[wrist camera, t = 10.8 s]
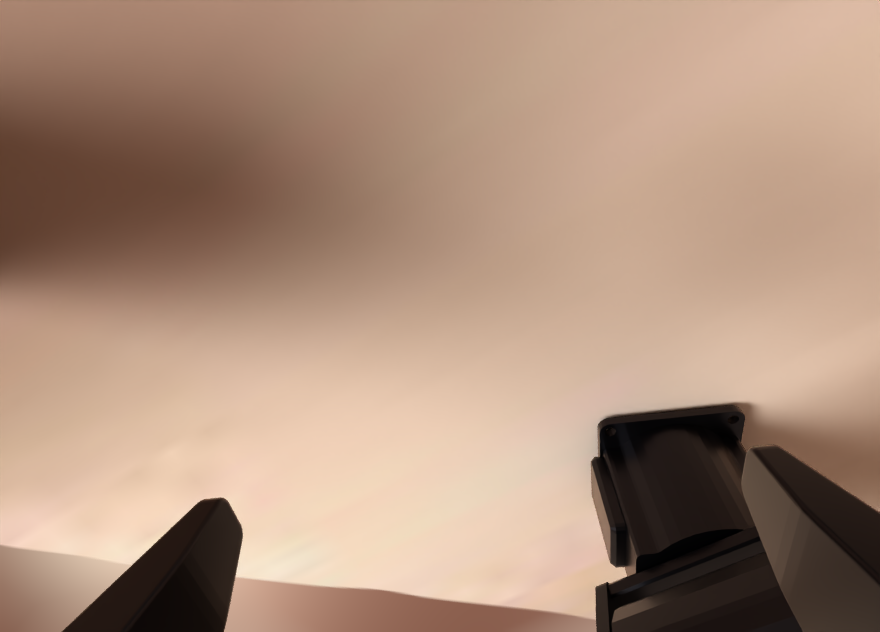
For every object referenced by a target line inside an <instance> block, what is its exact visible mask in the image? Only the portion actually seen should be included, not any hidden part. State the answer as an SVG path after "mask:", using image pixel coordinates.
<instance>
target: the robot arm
mask: <svg viewBox="0 0 880 632" xmlns="http://www.w3.org/2000/svg"><path fill="white" fill-rule="evenodd" d="M731 416H733V417H731ZM729 417H731V418H729ZM744 421H745V415H744V414H743V412H742V411H741V409H740V408H739V407H737V406H722V407H712V408H702V409H693V410H683V411H673V412H664V413H654V414H644V415H635V416H625V417H615V418H607V419H604V420H602V421H601V422H600V423H599V424H598V457H594V458H593V460H592V461H591V483H592V497H593V501H594V505H595V508H596V512H597V516H598V519H599V523H600V527H601V531H602V534H603V538H604V542H605V545H606V549H607V553H608V557H609V560H610V563H611V564H612V565H614V566H615V567H625V570H626V573H627V577H625V578H623V579H620V580H618V581H615V582H613V583H610V584H609V583H608V582H606V583H604V584H601V585H599V586H596V588H595V589H596V624H597V625H596V626H597V632H880V512H878V511H877V510H875V509H874V508H872V507H871V506H869V505H867V504H866V503H864V502H863V501H861V500H860V499H858V498H857V497H855V496H854V495H852V494H851V493H849V492H848V491H846V490H845V489H843V488H842V487H840V486H839V485H837V484H836V483H834V482H833V481H831V480H830V479H828V478H827V477H825V476H824V475H822V474H820V473H819V472H817V471H816V470H814V469H813V468H811V467H810V466H808V465H807V464H805V463H804V462H802V461H801V460H799V459H798V458H796V457H795V456H793V455H792V454H790V453H789V452H787V451H786V450H784V449H783V448H781V447H779V446H776V445H764V446H753V447H750V448H749V449H748V450H747V452H746V450H745V449H744V447H743V445H742V444H741V439H742V433H743V427H744ZM609 428H612V429H611V430H607V429H609ZM242 538H243V532H242V527H241V524H240V522H239V520H238V519H237V517H236V515H235V513H234V511H233V509H232V508H231V506H230V504H229V502H228V501H227V500H226V499H224V498H211V499H204V500H202V501H200V502H199V503H197V504H196V505H195V506H194V507H193V508H192V509H191V510H190V511H189V512H188V513H187V514H186V515H185V516H184V517H182V518H181V519H180V520H179V521H178V522H177V523H176V524H175V525H174V526H173V527H172V528H171V529H170V530H169V531H168V532H167V533H166V534H164V535H163V536H162V537H161V538H160V539H159V540H158V541H157V542H156V543H155V544H154V545H153V546H152V547H151V548H150V549H149V550H148V551H147V552H145V553H144V554H143V555H142V556H141V557H140V558H139V559H138V560H137V561H136V562H135V563H134V564H133V565H132V566H131V567H130V568H129V569H128V570H127V571H125V572H124V573H123V574H122V575H121V576H120V577H119V578H118V579H117V580H116V581H115V582H114V583H113V584H112V585H111V586H110V587H109V588H107V589H106V590H105V591H104V592H103V593H102V594H101V595H100V596H99V597H98V598H97V599H96V600H95V601H94V602H93V603H92V604H91V605H89V606H88V607H87V608H86V609H85V610H84V611H83V612H82V613H81V614H80V615H79V616H78V617H77V618H76V619H75V620H74V621H73V622H72V623H71V624H69V625H68V626H67V627H66V628H65V629H64V630H63V631H62V632H224V629H225V625H226V621H227V616H228V611H229V606H230V602H231V596H232V591H233V586H234V581H235V576H236V570H237V565H238V560H239V555H240V550H241V544H242Z"/></svg>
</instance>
